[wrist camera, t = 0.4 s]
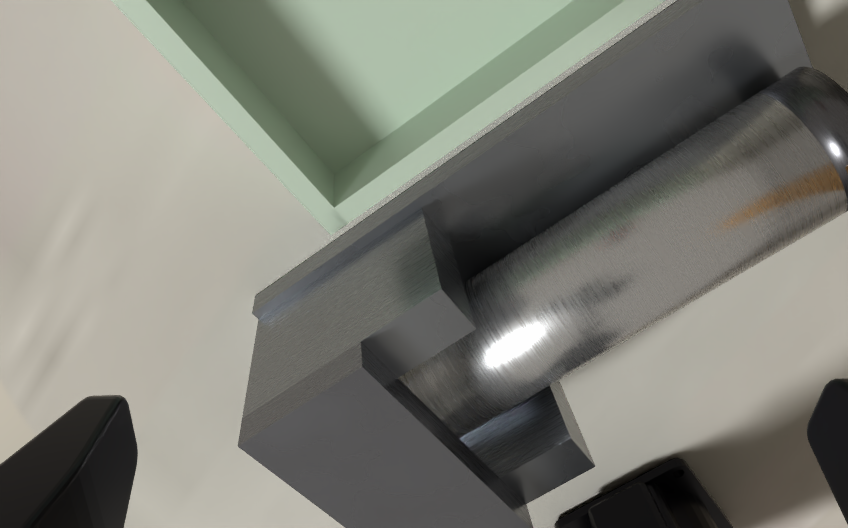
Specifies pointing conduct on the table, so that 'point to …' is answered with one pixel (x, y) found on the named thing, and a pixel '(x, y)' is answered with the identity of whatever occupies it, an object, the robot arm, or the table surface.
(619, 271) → the silver oval rod
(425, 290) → the bracket
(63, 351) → the table surface
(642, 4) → the tray
